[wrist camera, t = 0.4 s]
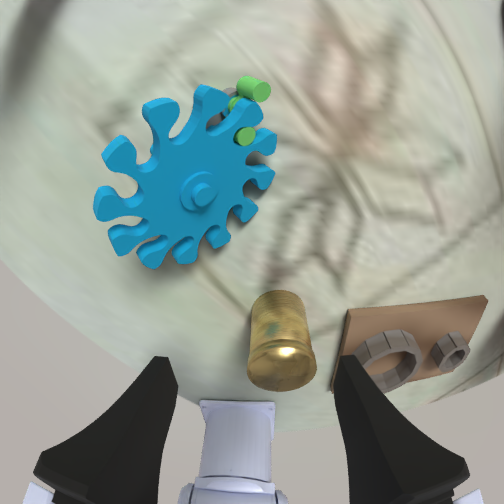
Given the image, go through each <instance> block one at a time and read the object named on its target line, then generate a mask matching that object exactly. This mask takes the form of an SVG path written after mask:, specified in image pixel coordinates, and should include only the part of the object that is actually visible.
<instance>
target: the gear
mask: <svg viewBox="0 0 504 504" xmlns="http://www.w3.org/2000/svg"><path fill="white" fill-rule="evenodd" d="M236 88H237V89H235V88H227V89H224V90H223V91H220V90H218V89H215V88H213V87H210V86H206V85H202V84H201V85H200V86H198V88H197V89H196V91H195V93H194V104H193V110H192V113H191V116H190V118H189V120H188V122H187V123H186V125H185V127H184V128H183V129H182V131H181V132H180V133H179V135H177V136H176V137H174V138H169V137H168V136H169V131H170V129H171V128H172V126H173V125H174V123H175V122H176V121H177V119H178V117H179V113H180V108H179V105H178V103H177V102H175V101H174V100H172V99H170V98H159V99H155V100H152V101H150V102H147V103H145V104H144V105H143V107H142V115H143V117H144V119H145V120H146V121H147V122H148V124H149V126H150V127H151V130H152V133H153V145H152V146H151V148H150V153H151V154H152V156H151V158H150V159H149V160H148V161H147V162H146V163H144V164H141V165H137V164H136V156H137V154H136V149H135V147H134V145H133V144H132V143H131V142H130V141H129V139H128V138H127V137H125V136H123V135H119V136H118V137H116V138H115V139H114V140H113V141H111V142H110V144H109V145H108V146H107V147H106V148H105V150H104V151H103V153H102V154H101V155H102V158H103V160H104V162H105V164H106V166H107V167H108V169H109V170H111V171H113V172H118V173H123V174H127V175H129V176H130V177H132V178H133V179H135V180H136V181H137V183H138V190H137V192H136V193H135V195H133V196H132V197H130V198H125V199H124V198H121V197H120V196H119V195H118V194H117V192H116V191H115V190H114V189H113V188H112V187H110V186H101V187H99V188H98V190H97V191H96V194H95V197H94V203H93V210H94V213H95V216H96V218H97V220H99V221H102V222H107V221H110V220H113V219H115V218H118V217H121V216H138V217H141V218H143V219H142V221H141V222H140V223H139V224H137V225H135V226H126V225H122V224H118V225H114V226H112V227H111V228H110V229H109V230H108V236H109V239H110V241H111V244H112V246H113V248H114V250H115V252H116V254H117V255H118V256H124V255H126V254H128V253H129V252H130V251H131V250H132V249H133V248H134V247H135V246H136V245H138V244H139V243H140V242H142V241H144V240H146V239H148V238H151V237H154V236H158V235H160V237H159V238H158V239H156V240H154V241H150V242H147V243H144V244H142V245H141V246H140V247H139V248H138V249H137V252H136V253H137V255H138V257H139V259H140V260H141V262H142V263H143V265H145V266H146V267H149V268H151V269H156V268H157V267H159V266H160V265H161V263H162V262H163V259H164V257H165V255H166V253H167V252H168V251H169V249H170V248H171V247H172V246H173V245H175V244H176V243H177V242H178V241H180V240H181V239H182V238H184V237H185V238H184V239H183V240H181V241H180V242H179V243H177V244H176V245H175V246H174V247H173V249H172V255H173V257H174V258H175V260H176V261H177V263H178V264H189V263H193V262H194V261H195V260H196V258H197V256H198V252H197V250H198V245H199V242H200V240H201V238H202V236H203V235H204V233H205V232H206V231H207V229H208V228H209V227H210V228H209V229H208V231H207V233H206V236H205V237H206V240H207V241H208V242H209V243H210V244H211V246H212V247H213V248H214V249H215V248H218V247H221V246H222V245H224V244H226V243H228V242H229V241H230V238H231V235H230V233H229V232H228V231H227V228H226V219H227V215H228V212H229V210H230V209H231V208H232V207H233V213H234V214H235V215H236V216H237V217H238V218H239V219H240V220H241V221H242V222H246V221H248V220H249V219H250V218H251V217H252V216H253V215H254V214H255V213H256V212H257V211H258V206H257V205H256V204H255V203H254V202H252V201H251V200H250V199H249V198H247V197H244V195H243V191H242V188H243V185H244V184H245V182H246V181H247V180H249V179H250V181H251V182H252V183H253V184H255V185H256V186H257V187H258V188H260V189H261V190H265V189H267V188H268V186H269V185H270V183H271V182H272V180H273V178H274V176H275V172H274V171H273V170H272V169H270V168H269V167H268V166H266V165H265V164H258V165H253V166H249V165H245V160H246V157H247V156H248V154H250V153H251V152H252V151H258V152H260V153H261V154H263V155H265V156H268V155H271V154H273V153H274V152H275V149H276V144H277V134H275V133H273V132H271V131H270V130H268V129H266V128H261V129H259V130H257V131H256V132H255V130H254V128H252V127H254V126H256V125H258V124H259V123H260V122H261V121H262V120H263V113H262V110H261V108H260V107H259V105H258V104H257V102H263V101H265V100H266V99H267V98H268V97H269V95H270V92H271V88H270V85H269V84H268V83H266V82H264V81H261V80H258V79H255V78H252V77H249V76H244V77H242V78H241V79H240V80H239V81H238V83H237V86H236ZM251 99H252V100H251ZM253 100H255V101H257V102H255V101H253Z"/></svg>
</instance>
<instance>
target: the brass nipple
mask: <svg viewBox="0 0 504 504" xmlns="http://www.w3.org/2000/svg"><path fill="white" fill-rule="evenodd" d="M316 371H317V365H316V360H315V355H314V352H313V351H312V346H311V341H310V335H309V330H308V324H307V319H306V313H305V308H304V304H303V302H302V300H301V299H300V298H299V297H298V296H297V295H296V294H294V293H292V292H289V291H285V290H274V291H270V292H267V293H265V294H263V295H261V296H260V297H259V298H258V299H257V300H256V301H255V303H254V304H253V307H252V320H251V339H250V355H249V357H248V364H247V375H248V378H249V379H250V381H251V382H252V383H253V384H254V385H256V386H258V387H260V388H262V389H265V390H268V391H275V392H283V391H290V390H294V389H297V388H300V387H302V386H304V385H306V384H307V383H308V382H310V381H311V380H312V379H313V377H314V376H315V374H316Z"/></svg>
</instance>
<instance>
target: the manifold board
mask: <svg viewBox="0 0 504 504" xmlns="http://www.w3.org/2000/svg"><path fill="white" fill-rule="evenodd" d="M487 303H488V300H487V299H486V298H485V296H484V295H480V296H474V297H467V298H459V299H452V300H444V301H435V302H426V303H417V304H407V305H396V306H385V307H372V308H358V309H348V313H347V318H346V323H345V328H344V332H343V337H342V341H341V346H340V350H339V354H338V358H337V363H336V367H335V370H334V374H333V378H332V382H331V392H332V394H333V393H334V390H333V383H334V379H335V375H336V371H337V367H338V363H339V359H340V356H344V355H355V356H356V357H357V359H358V360H359V362H360V363H361V364H362V366H363V367H364V369H365V370H366V372H367V373H368V374H369V376H370V377H371V378H372V380H373V381H374V382H375V384H376V385H377V386H378V388H379V389H380V390H381V391H382V393H387V392H390V391H392V390H394V389H396V388H398V387H400V386H402V385H403V384H405V383H407V382H412V381H417V380H421V379H426V378H430V377H434V376H438V375H442V374H446V373H450V372H453V371H454V369H455V368H456V367H458V366H459V365H460V364H461V363H463V362H464V360H465V359H466V358H467V356H468V354H469V352H470V348H469V346H468V344H469V342H470V340H471V338H472V336H473V334H474V332H475V330H476V328H477V325H478V323H479V321H480V319H481V317H482V315H483V312H484V310H485V308H486V305H487Z"/></svg>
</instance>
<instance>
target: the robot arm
mask: <svg viewBox="0 0 504 504" xmlns="http://www.w3.org/2000/svg"><path fill="white" fill-rule="evenodd" d="M333 390H334V399H335V406H336V411H337V415H338V419H339V423H340V427H341V431H342V436H343V440H344V444H345V449H346V455H347V464H348V475H349V495H350V496H349V498H350V504H484V503H483V499H482V496H481V492H480V489H476V490H474V491H472V492H470V493H468V494H466V495H464V496H462V497H460V498H458V499H457V500H454V501H453V502H452V498H451V497H452V496H454V491H453V488H455V487H457V486H458V485H460V484H461V483H463V482H464V481H465V480H467V479H468V478H469V476H470V473H469V470H468V467H467V464H466V462H465V459H464V458H463V457H461V456H459V455H457V454H455V453H453V452H451V451H449V450H447V449H446V448H444V447H442V446H440V445H439V444H438V443H436V442H435V441H433V440H432V439H431V438H429V437H428V436H427V435H425V434H424V433H423V432H421V431H420V430H419V429H418V428H416V427H415V426H414V425H413V424H412V423H411V422H409V421H408V420H407V419H406V418H405V417H404V416H403V415H402V414H401V413H400V412H399V411H398V410H397V409H396V408H395V406H394V405H393V404H392V403H391V402H390V401H389V400H388V399H387V397H386V396H385V395H384V394H383V393H382V391H381V390H380V389H379V388H378V386H377V385H376V384H375V382H374V381H373V380H372V378H371V377H370V376H369V374H368V373H367V372H366V370H365V369H364V367H363V366H362V364H361V363H360V362H359V360H358V359H357V357H356V356H355V355H344V356H340V359H339V363H338V367H337V371H336V375H335V379H334V383H333ZM177 391H178V384H177V381H176V378H175V376H174V373H173V370H172V367H171V364H170V361H169V358H168V357H160V356H155V357H154V358H153V359H152V360H151V361H150V362H149V364H148V365H147V366H146V367H145V369H144V370H143V371H142V372H141V374H140V375H139V376H138V377H137V379H136V380H135V381H134V382H133V383H132V384H131V386H130V387H129V388H128V389H127V390H126V391H125V392H124V393H123V395H122V396H121V397H120V398H119V399H118V400H117V401H116V402H115V403H114V404H113V405H112V406H111V407H110V408H109V409H108V410H107V411H106V412H105V413H103V414H102V415H101V416H100V417H99V418H98V419H97V420H95V421H94V422H93V423H91V424H90V425H89V426H87V427H86V428H85V429H83V430H82V431H81V432H79V433H77V434H76V435H74V436H72V437H71V438H69V439H67V440H66V441H64V442H62V443H60V444H58V445H57V446H54V447H52V448H50V449H47V450H45V451H43V452H42V453H41V455H40V457H39V460H38V462H37V464H36V466H35V469H34V471H33V473H34V475H35V476H36V477H37V478H39V479H40V480H42V481H43V482H44V483H46V484H47V485H49V486H51V487H52V488H54V489H55V493H54V494H53V493H52V492H50V491H48V490H46V489H44V488H43V487H41V486H39V485H37V484H35V483H34V482H30V484H29V487H28V490H27V492H26V495H25V498H24V501H23V504H157V502H158V484H159V475H160V466H161V459H162V453H163V448H164V444H165V441H166V437H167V433H168V430H169V426H170V423H171V420H172V416H173V413H174V409H175V404H176V398H177ZM199 405H200V408H201V411H202V414H203V417H204V420H205V423H206V430H205V437H204V443H203V450H202V457H201V463H200V470H199V477H196V478H195V484H192V483H188V484H187V485H186V486H184V487H183V488H182V489H181V492H180V495H179V499H178V504H288V500H287V497H286V496H285V495H284V494H283V493H282V491H280V490H275V483H271V441H272V440H273V439H274V422H275V403H274V402H242V401H215V400H200V402H199Z"/></svg>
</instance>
